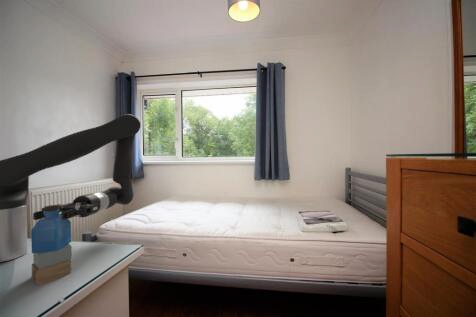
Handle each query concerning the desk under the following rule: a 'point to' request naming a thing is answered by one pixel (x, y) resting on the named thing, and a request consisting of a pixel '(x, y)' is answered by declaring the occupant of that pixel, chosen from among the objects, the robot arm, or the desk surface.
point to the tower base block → (50, 272)
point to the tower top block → (52, 257)
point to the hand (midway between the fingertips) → (48, 216)
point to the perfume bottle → (50, 231)
